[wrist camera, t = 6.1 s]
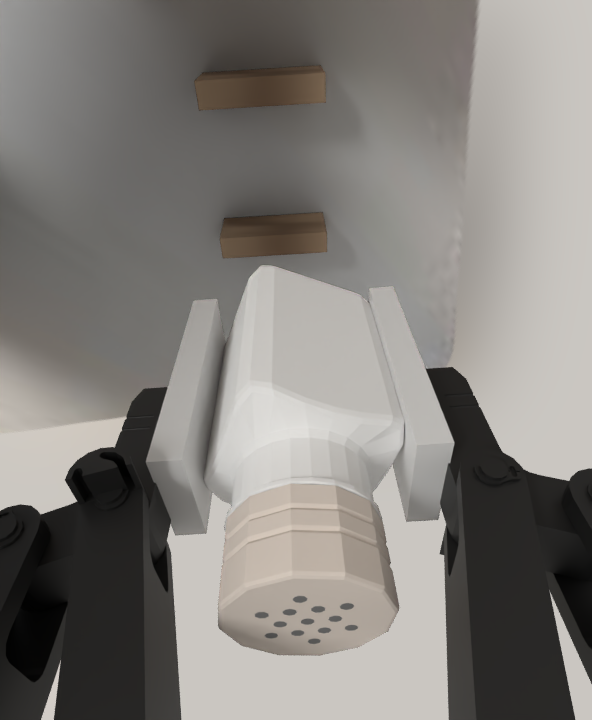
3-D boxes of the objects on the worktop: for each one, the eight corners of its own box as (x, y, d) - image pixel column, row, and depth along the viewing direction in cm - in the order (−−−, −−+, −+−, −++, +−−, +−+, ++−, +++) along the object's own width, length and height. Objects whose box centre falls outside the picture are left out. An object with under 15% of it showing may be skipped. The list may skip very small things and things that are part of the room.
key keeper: (227, 237, 29) (222, 258, 26) (202, 72, 23) (194, 80, 21) (322, 231, 29) (327, 252, 26) (320, 65, 23) (325, 72, 21)
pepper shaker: (374, 290, 15) (470, 584, 7) (326, 380, 17) (361, 675, 10) (256, 251, 14) (227, 541, 6) (221, 351, 16) (169, 652, 9)
